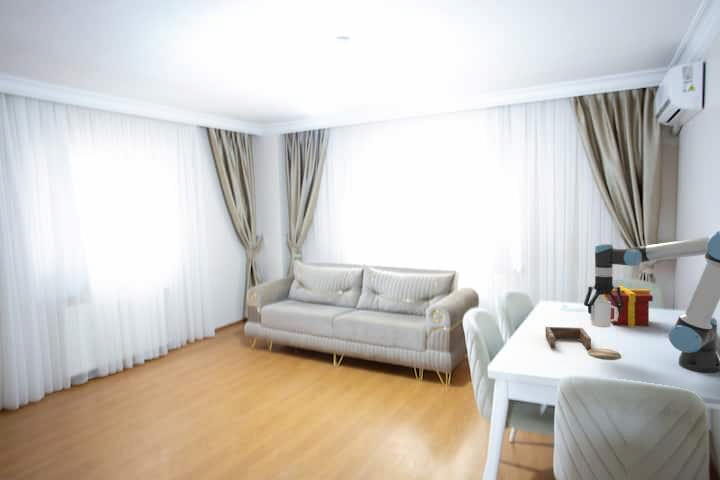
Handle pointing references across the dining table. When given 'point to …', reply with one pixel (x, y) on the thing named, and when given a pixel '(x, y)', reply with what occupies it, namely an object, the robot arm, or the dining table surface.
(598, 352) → the coaster
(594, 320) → the mug
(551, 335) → the cradle
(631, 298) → the gift box
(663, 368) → the dining table surface
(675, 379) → the dining table surface
